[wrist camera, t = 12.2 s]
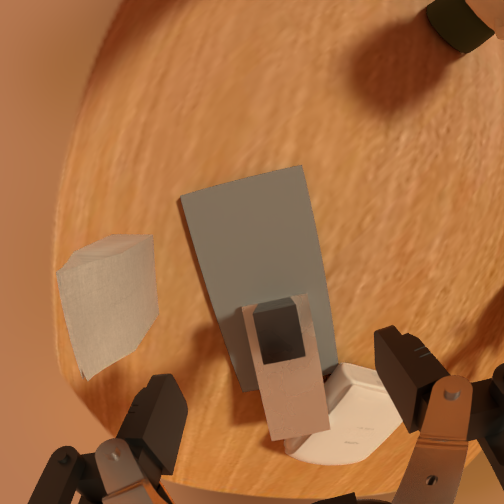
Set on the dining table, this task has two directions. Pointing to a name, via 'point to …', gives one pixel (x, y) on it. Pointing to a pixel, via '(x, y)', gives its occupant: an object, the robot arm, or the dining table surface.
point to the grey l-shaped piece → (287, 366)
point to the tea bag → (108, 299)
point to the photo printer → (349, 419)
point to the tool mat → (260, 257)
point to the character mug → (467, 21)
